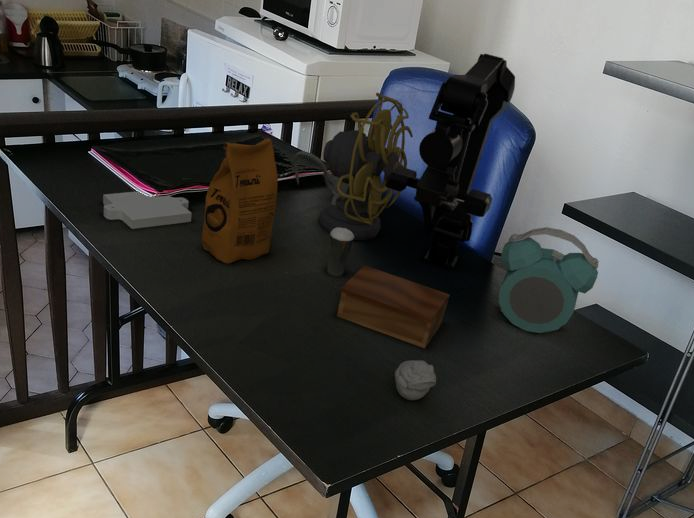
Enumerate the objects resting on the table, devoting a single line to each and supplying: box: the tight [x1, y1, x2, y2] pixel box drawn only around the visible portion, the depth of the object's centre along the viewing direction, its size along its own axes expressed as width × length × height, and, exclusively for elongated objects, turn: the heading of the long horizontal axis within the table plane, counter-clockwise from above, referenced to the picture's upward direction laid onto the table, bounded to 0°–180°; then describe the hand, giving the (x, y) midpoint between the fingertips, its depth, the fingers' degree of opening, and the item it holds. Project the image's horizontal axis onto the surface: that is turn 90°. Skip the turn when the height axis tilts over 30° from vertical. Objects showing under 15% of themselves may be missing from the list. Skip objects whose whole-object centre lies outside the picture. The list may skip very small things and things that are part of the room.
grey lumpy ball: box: [394, 359, 437, 401], centre depth 114 cm, size 6×7×7 cm
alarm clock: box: [498, 226, 600, 334], centre depth 140 cm, size 17×10×20 cm, turn 71°
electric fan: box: [292, 92, 414, 241], centre depth 165 cm, size 26×32×30 cm
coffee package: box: [200, 138, 279, 264], centre depth 142 cm, size 10×12×22 cm
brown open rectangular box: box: [336, 292, 449, 349], centre depth 134 cm, size 11×17×5 cm, turn 68°
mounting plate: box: [102, 190, 193, 230], centre depth 155 cm, size 18×13×2 cm
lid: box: [340, 265, 451, 324], centre depth 133 cm, size 11×17×1 cm
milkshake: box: [326, 228, 360, 277], centre depth 146 cm, size 4×5×10 cm
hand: (428, 234), depth 141 cm, fingers closed
